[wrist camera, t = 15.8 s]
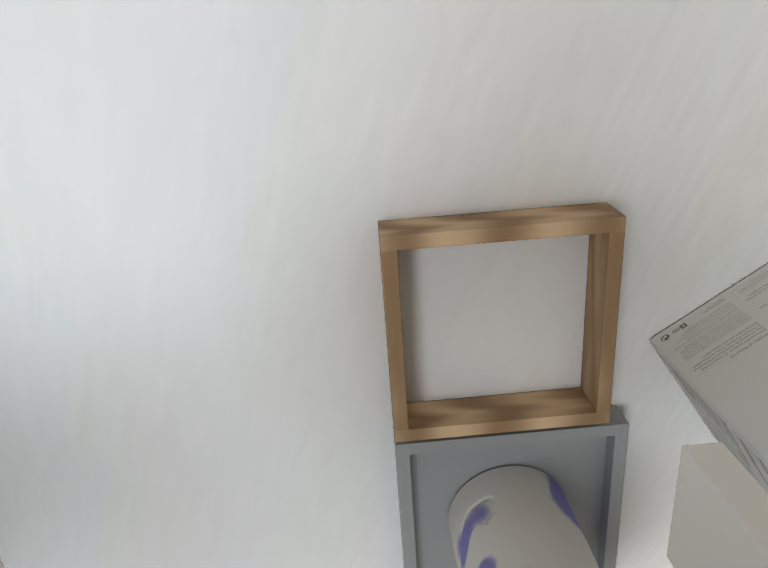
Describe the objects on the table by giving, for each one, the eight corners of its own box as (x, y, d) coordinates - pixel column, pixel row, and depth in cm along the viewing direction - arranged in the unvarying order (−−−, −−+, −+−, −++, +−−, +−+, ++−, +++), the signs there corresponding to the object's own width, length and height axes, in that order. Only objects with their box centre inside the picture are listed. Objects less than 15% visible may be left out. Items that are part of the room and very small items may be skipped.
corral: (392, 415, 50) (395, 442, 47) (377, 221, 44) (380, 236, 41) (592, 397, 50) (609, 422, 47) (605, 202, 44) (626, 216, 41)
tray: (405, 591, 57) (408, 615, 55) (393, 425, 50) (395, 445, 48) (601, 572, 58) (612, 595, 55) (616, 405, 51) (629, 423, 49)
